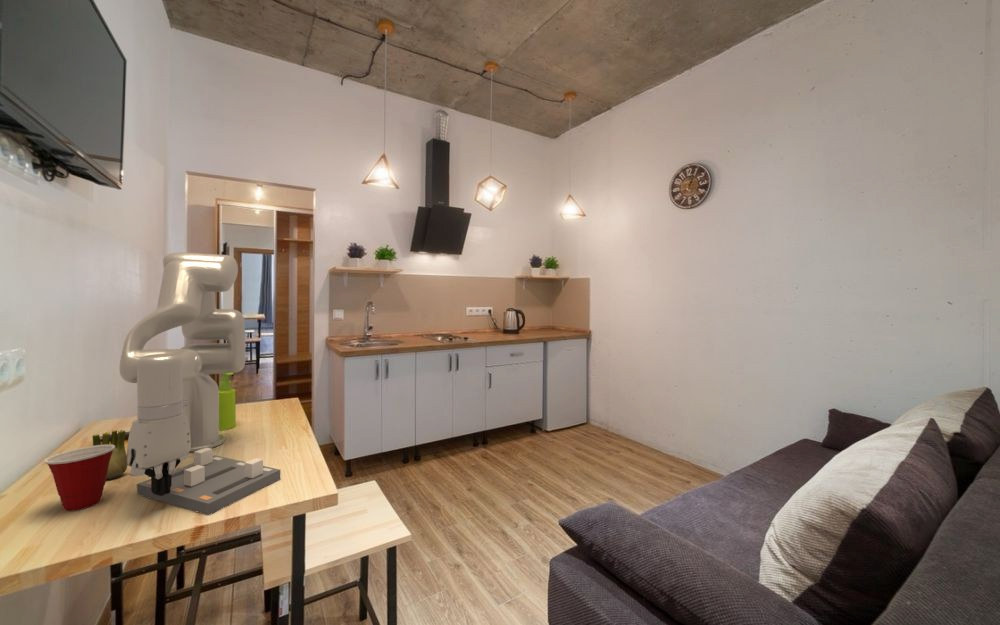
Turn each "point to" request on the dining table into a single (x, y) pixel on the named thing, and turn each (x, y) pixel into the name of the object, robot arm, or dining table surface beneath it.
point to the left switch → (203, 456)
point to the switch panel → (212, 486)
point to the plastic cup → (80, 475)
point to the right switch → (253, 468)
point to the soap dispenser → (226, 404)
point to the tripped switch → (194, 475)
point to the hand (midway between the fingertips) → (161, 493)
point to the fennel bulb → (114, 452)
